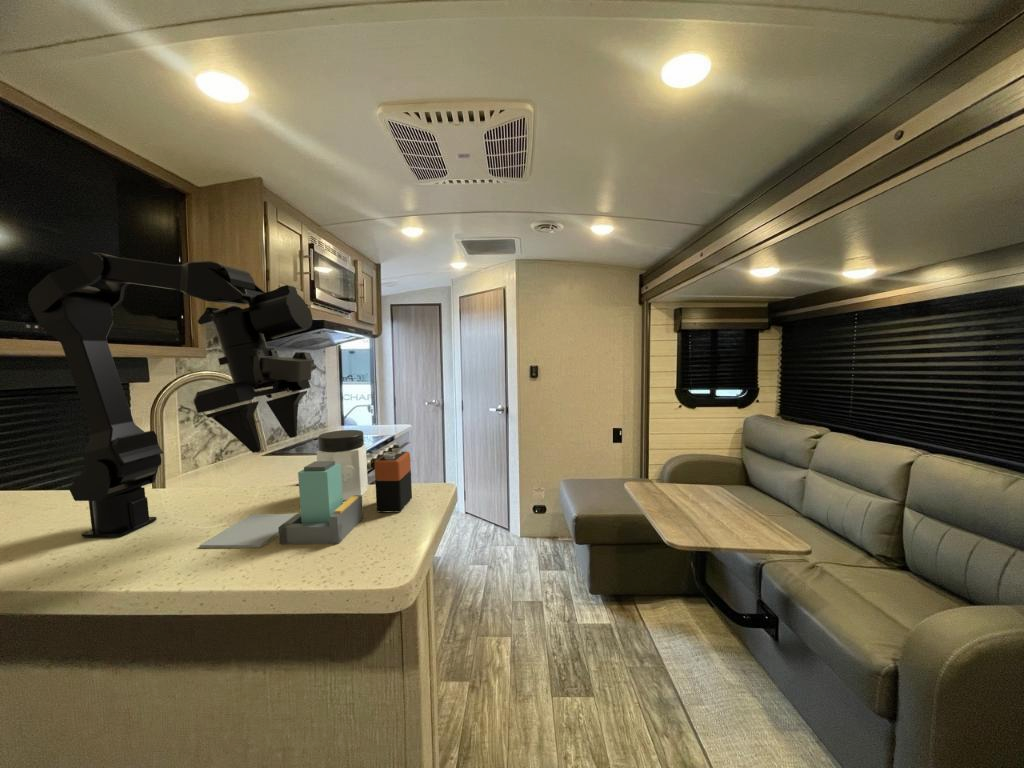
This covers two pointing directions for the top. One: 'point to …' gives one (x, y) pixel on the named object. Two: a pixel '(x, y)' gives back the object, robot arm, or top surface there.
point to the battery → (393, 480)
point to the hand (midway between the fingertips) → (276, 444)
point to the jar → (346, 459)
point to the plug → (320, 491)
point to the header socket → (323, 525)
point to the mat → (249, 532)
